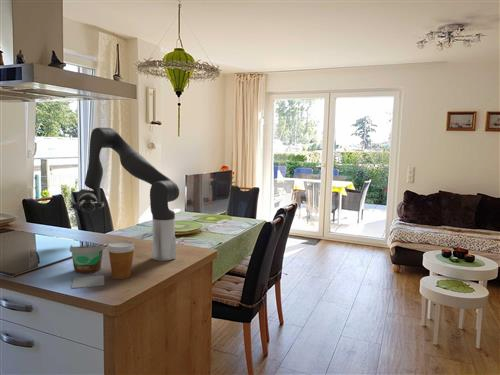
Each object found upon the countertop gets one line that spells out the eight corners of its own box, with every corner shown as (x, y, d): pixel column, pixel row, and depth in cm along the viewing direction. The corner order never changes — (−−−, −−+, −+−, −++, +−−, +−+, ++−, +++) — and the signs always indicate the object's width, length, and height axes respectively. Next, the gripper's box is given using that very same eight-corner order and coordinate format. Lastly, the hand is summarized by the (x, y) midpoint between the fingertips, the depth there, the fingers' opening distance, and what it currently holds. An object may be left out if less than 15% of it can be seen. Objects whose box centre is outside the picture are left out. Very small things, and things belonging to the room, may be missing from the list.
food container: (66, 275, 135) (66, 248, 134) (70, 270, 141) (69, 244, 140) (103, 273, 139) (102, 247, 138) (104, 268, 144) (104, 243, 143)
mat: (103, 275, 136) (103, 275, 136) (104, 285, 127) (104, 284, 127) (73, 278, 132) (73, 277, 132) (71, 288, 123) (71, 287, 123)
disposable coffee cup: (106, 273, 139) (106, 241, 138) (133, 270, 143) (133, 239, 142) (108, 281, 130) (108, 248, 129) (136, 278, 134) (136, 246, 133)
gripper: (70, 194, 163) (67, 199, 148) (104, 193, 169) (105, 198, 153) (70, 210, 164) (67, 217, 148) (104, 209, 169) (105, 216, 154)
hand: (86, 208), depth 151 cm, fingers open, 3 cm apart
